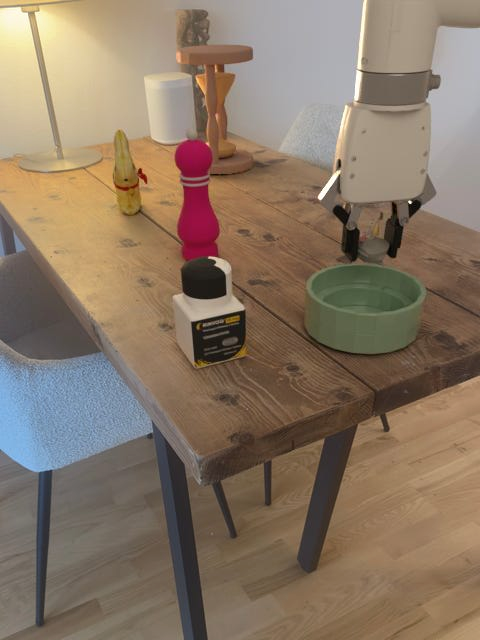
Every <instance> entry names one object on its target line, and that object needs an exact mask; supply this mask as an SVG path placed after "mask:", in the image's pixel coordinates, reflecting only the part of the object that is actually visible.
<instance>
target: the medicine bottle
mask: <svg viewBox="0 0 480 640" xmlns="http://www.w3.org/2000/svg"><path fill="white" fill-rule="evenodd" d="M232 273H233V270H232V266H231V264H230V262H228V261H227V260H226V259H223V258H220V257H218V256H217V257H210V256H205V257H198V258H194V259H192V260H189V261H188V260H186V262H184V263H183V265H182V266H181V267H180V278H181V290H182V293H177V294H173V296H172V297H171V299H172V307H173V318H174V327H175V328H174V329H175V336H176V344H177V345H178V347H179V349H180V350H181V352H182V353H183V354H184V356H185V357H186V358H187V360H188V361H189V362H190V364H191V365H192V367H193V368H194V369H195V370H198V369H202V368H207V367H211V366H214V365H218V364H223V363H225V362H229V361H230V362H231V361H234V360H239V359H241V358H245V357H246V356H247V319H246V318H247V317H246V316H247V315H246V306H245V305H244V304H243V303H242V302H241V301H239V299H237V297H236V296H235V295H234V294H233V274H232Z"/></svg>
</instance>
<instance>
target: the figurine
mask: <svg viewBox="0 0 480 640" xmlns="http://www.w3.org/2000/svg"><path fill="white" fill-rule="evenodd" d="M383 220H384V213H383V212H382V211H380V212H379V213H378V215H377V217H376V218H375V220H373V219H372V220H371V221H370V223H369V225H368V226H365V227H364V228H363V229H359V230H360V237H359V246H358V254H357V259H359V260H360V261H362V262H363V263H366V264H377V265H382V263H384V260H385V258H386V256H387V251H388V248H389V242H388V241H387V240H384V238H382V237H379V234H380V222H382V221H383ZM372 227H373V228H372ZM364 230H366V231H364Z"/></svg>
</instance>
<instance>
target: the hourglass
mask: <svg viewBox="0 0 480 640" xmlns="http://www.w3.org/2000/svg"><path fill="white" fill-rule="evenodd" d="M175 56H176V62H177V63H180V64H183V65H191V66H192V65H193V66H204V73H199V74H197V75H195V79H196V82H197V85H198V86H199V87H200V89H201V91H202V92H203V94H204V104H205V107H206V110H207V114H208V118H207V124H206V138H207V142H205V143H206V144H207V145H208V146H209V147H210V149H211V151H212V156H213V162H212V165H211V167H210V168H209V170H208V172H209V173H210V174H219V175H218V176H221V175H220V174H228V175H233V174H232V173H235V174H239V173H238V172H240V173H244V172H246V171H248V169H249V170H251V169H252V168H253V167H254V165H255V164H254V162H255V161H254V155H253V153H251V152H249V151H247V150H243V149H238V148H237V144H235V143H233V142H231V141H228V138H227V137H228V134H227V131H228V114H227V111H226V107H225V102H226V97H227V96H228V94H229V92H230V90H231V88H232V86H233V84H234V83H235V79H236V74H235V73H230V72H225V71H226V70H225V65H234V64H242V63H246V62H250V61H253V59H254V49H253V47H252V46H250V45H249V46H248V45H242V44H203V45H192V46H191V45H189V46H183V47H181V48H180V47H179V48H177V49H176V51H175ZM245 170H246V171H245ZM243 171H244V172H243Z"/></svg>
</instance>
